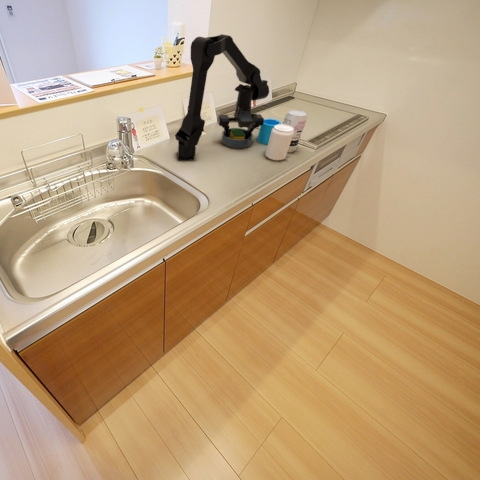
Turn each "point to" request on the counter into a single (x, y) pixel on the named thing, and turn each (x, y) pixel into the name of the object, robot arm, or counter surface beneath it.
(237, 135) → the sponge
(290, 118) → the supplement can
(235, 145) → the bowl
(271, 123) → the mug
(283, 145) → the beverage can
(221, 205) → the counter surface
